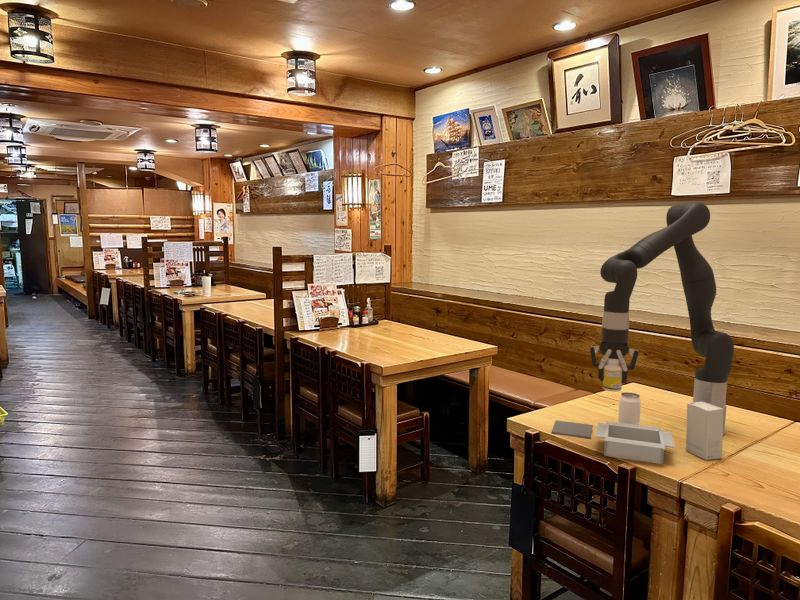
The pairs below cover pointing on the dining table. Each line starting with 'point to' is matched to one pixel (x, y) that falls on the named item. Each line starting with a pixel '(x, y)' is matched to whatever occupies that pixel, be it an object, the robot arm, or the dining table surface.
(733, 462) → the dining table surface
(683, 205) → the robot arm
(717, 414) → the skincare box
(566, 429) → the mat
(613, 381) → the supplement bottle
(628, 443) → the carton
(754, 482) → the dining table surface
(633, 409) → the can
